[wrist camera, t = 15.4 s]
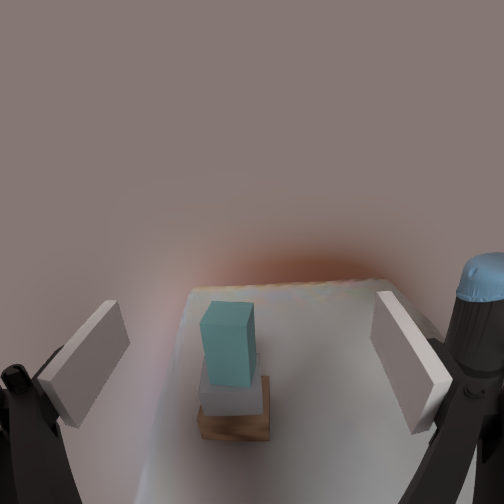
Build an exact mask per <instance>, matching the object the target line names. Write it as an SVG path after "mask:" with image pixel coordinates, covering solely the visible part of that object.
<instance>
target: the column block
mask: <svg viewBox="0 0 504 504" xmlns="http://www.w3.org/2000/svg"><path fill="white" fill-rule="evenodd" d="M200 329H201V335H202V341H203V347H204V353H205V359H206V365H207V370H208V376H209V381H210V384H215V385H225V386H235V387H248V388H251V384H252V380H253V375H254V371H255V366H256V344H255V324H254V305H253V303H246V302H219V301H212V302H211V304H210V306H209V307H208V309H207V311H206V313H205V315H204V316H203V318H202V320H201V322H200Z"/></svg>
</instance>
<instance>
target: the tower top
mask: <svg viewBox="0 0 504 504" xmlns="http://www.w3.org/2000/svg"><path fill="white" fill-rule="evenodd" d="M199 397H200V401H201V405H202V409H203V413H204V416H241V415H260V414H263V399H262V384H261V372H260V361H259V353H256V366H255V371H254V375H253V380H252V384H251V388H248V387H235V386H225V385H215V384H210V381H209V376H208V370H207V365H206V359H205V356H204V361H203V367H202V374H201V380H200V386H199Z"/></svg>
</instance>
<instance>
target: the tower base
mask: <svg viewBox="0 0 504 504" xmlns="http://www.w3.org/2000/svg"><path fill="white" fill-rule="evenodd" d="M261 384H262V399H263V414H260V415H241V416H204V413H203V409H202V405H201V406H200V410H199V414H198V418H197V421H198V425H199V428H200V432H201V435H202V438H203V439H211V440H230V441H269V424H270V388H269V376H261Z"/></svg>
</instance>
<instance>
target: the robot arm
mask: <svg viewBox="0 0 504 504" xmlns="http://www.w3.org/2000/svg"><path fill="white" fill-rule="evenodd" d="M456 295H457V297H456V301H455V305H454V309H453V313H452V317H451V321H450V325H449V328H448V332H447V335H446V339H445V342H444V344H443V343H441V342H440V341H438V340H437V339H435V338H431V339H426V338H425V337H424V336H423V334H422V333H421V331H420V330H419V328H418V327H417V326H416V324H415V323H414V321H413V320H412V319H411V317H410V316H409V315H408V313H407V312H406V311H405V309H404V308H403V306H402V305H401V304H400V302H399V301H398V300H397V298H396V297H395V296H394V295H393V293H392V292H391V291H381V292H376V300H375V308H374V316H373V323H372V329H371V336H370V339H371V341H372V343H373V345H374V348H375V350H376V352H377V354H378V356H379V358H380V361H381V363H382V365H383V367H384V370H385V372H386V374H387V376H388V379H389V381H390V383H391V386H392V388H393V390H394V393H395V395H396V397H397V400H398V402H399V405H400V407H401V409H402V412H403V414H404V417H405V419H406V422H407V424H408V427H409V429H410V432H411V435H413V434H416V433H420V432H424V431H428V430H429V429H430V427H431V425H432V423H433V421H434V422H435V424H436V426H437V429H436V431H435V433H434V434H433V436H432V438H431V440H430V441H429V443H428V444H429V446H428V449H427V451H426V453H425V455H424V457H423V459H422V461H421V463H420V465H419V467H418V469H417V471H416V473H415V475H414V477H413V479H412V480H411V482H410V484H409V486H408V488H407V489H406V491H405V493H404V495H403V496H402V498H401V500H400V501H399V503H398V504H455V503H456V501H457V499H458V496H459V494H460V491H461V489H462V486H463V484H464V481H465V478H466V475H467V473H468V470H469V467H470V464H471V461H472V458H473V455H474V451H475V448H476V445H477V461H476V476H475V487H474V495H473V503H472V504H504V386H503V388H502V385H503V380H504V253H499V252H496V253H485V254H481V255H477V256H475V257H473V258H471V259H470V260H469V261H468V262H467V263H466V264H465V266H464V269H463V272H462V276H461V280H460V284H459V286H458V288H457V290H456ZM129 345H130V341H129V338H128V335H127V331H126V328H125V325H124V321H123V318H122V315H121V311H120V308H119V304H118V301H112V300H109V301H108V300H106V301H105V302H104V303H103V304H102V305H101V306H100V307H99V308H98V309H97V310H96V311H95V312H94V314H93V315H92V316H91V317H90V318H89V319H88V320H87V321H86V322H85V323H84V324H83V325H82V327H81V328H80V329H79V330H78V331H77V332H76V333H75V334H74V335H73V337H72V338H71V339H70V340H69V341H68V342H67V343H66V344H65V345H63V346H62V347H60V348H59V349H58V350H56V351H55V352H54V353H53V354H52V356H51V357H50V358H49V359H48V360H47V361H46V364H44V365H43V366H42V367H41V368H40V369H39V371H38V372H37V373H36V374H35V375H34V377H33V378H32V379H30V377H29V375H28V373H27V371H26V369H25V368H24V366H23V365H21V364H14V365H11V366H9V367H7V368H6V369H5V370H4V371H3V372H2V374H1V379H2V380H3V382H4V384H5V386H6V387H7V389H2V387H1V386H0V426H1V427H0V504H82V501H81V498H80V496H79V493H78V490H77V487H76V484H75V481H74V478H73V475H72V472H71V469H70V465H69V462H68V458H67V455H66V451H65V447H64V443H63V439H62V435H61V431H60V426H59V425H58V423H57V421H56V420H57V419H58V417H59V416H60V417H61V419H62V420H63V422H64V423H65V425H68V426H71V427H75V428H79V427H80V425H81V424H82V422H83V420H84V418H85V417H86V415H87V413H88V411H89V410H90V408H91V406H92V405H93V403H94V401H95V399H96V398H97V396H98V395H99V393H100V391H101V390H102V388H103V386H104V384H105V383H106V381H107V380H108V378H109V376H110V375H111V373H112V371H113V370H114V368H115V367H116V365H117V364H118V362H119V360H120V359H121V357H122V356H123V354H124V352H125V351H126V349H127V348H128V346H129Z"/></svg>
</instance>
